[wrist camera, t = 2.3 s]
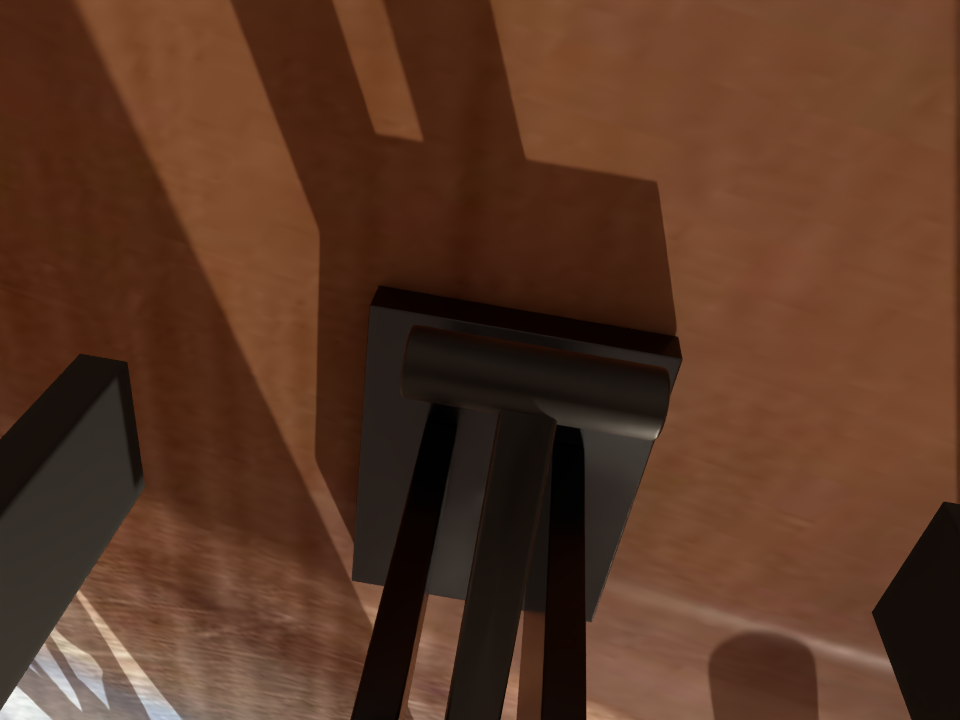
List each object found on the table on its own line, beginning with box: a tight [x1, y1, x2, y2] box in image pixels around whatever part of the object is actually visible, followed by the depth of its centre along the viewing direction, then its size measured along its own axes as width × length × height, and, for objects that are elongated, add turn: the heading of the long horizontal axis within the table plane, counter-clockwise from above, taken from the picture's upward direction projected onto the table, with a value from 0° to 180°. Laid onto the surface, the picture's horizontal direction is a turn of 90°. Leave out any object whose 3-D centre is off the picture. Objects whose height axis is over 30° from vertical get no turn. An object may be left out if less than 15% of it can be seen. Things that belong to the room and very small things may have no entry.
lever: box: [400, 325, 670, 720], centre depth 16 cm, size 12×5×2 cm, turn 173°
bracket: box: [350, 286, 682, 720], centre depth 21 cm, size 12×9×14 cm
